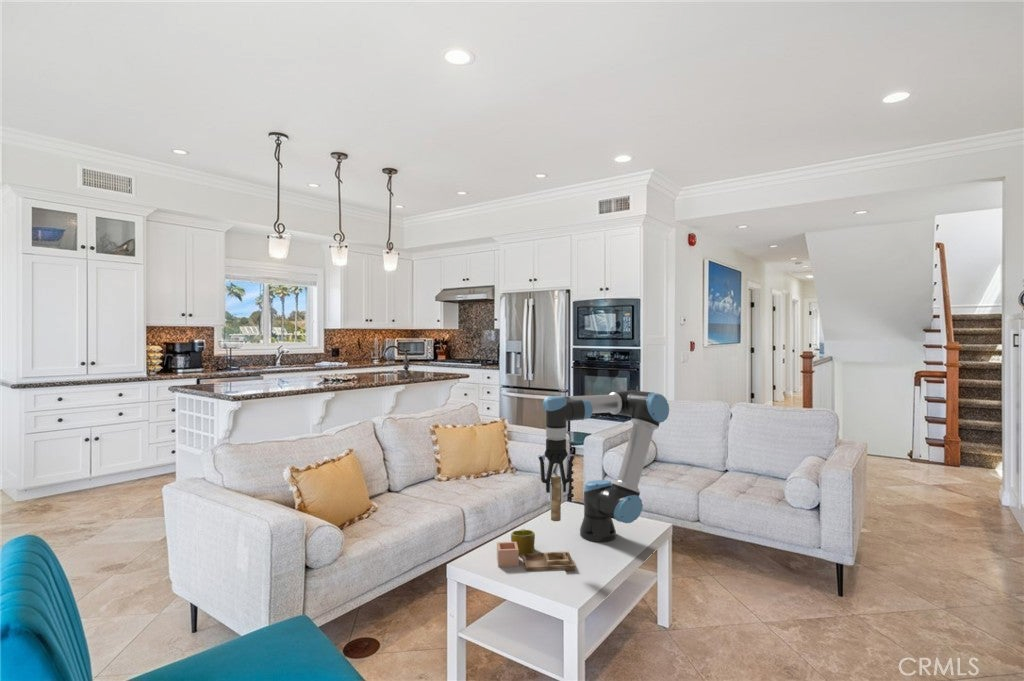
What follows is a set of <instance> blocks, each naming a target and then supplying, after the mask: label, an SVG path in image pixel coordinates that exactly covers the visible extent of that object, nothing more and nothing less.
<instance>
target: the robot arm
mask: <svg viewBox="0 0 1024 681" xmlns="http://www.w3.org/2000/svg"><path fill="white" fill-rule="evenodd" d="M542 410H543V411H544V413H545V437H546V439H545V451H544V453H543V454H539V455H537V458H538V460H539V468H540V481H541V483H543V484H545V491H546V493H547V494H548V502H549V503H551V502H552V484H551V476H553V475H552V474H553V470H554V469H553V468H554V465H555V464H558V467H559V472H560V477H561V503H563V502H564V493H566V492H567V483H570V482H571V481H572V471H573V468H572V467H573V461H574V460H575V456H574V455H573V454H569V453H568V452H567V439H566V438H567V422H572V421H581V420H582V421H584V420H587V419H590V418H591V417H592V415H593V414H602V413H603V414H606V413H610V414H611V415H620V416H625V417H626V416H627V417H631V418H630V421H631V422H632V424H633V425H632V427H631V432H630V435H629V438H628V442H627V445H626V448H625V451H624V454H623V455H624V456H623V459H622V462H621V465H620V470H619V472H618V476H617V479H616V480H614V481H611V480H607V479H598V480H597V479H594V480H590V481H587V482H585V484H584V486H583V487H584V488H583V489H584V490H583V515H584V516H583V518H582V522H581V523H580V524H581V525H580V528H579V534H580V538H581V537H582V538H583V539H585V540H587V541H591V542H598V543H599V542H600V543H602V542H609V541H613V540H615V539H616V536H617V533H616V532H617V531H616V527H615V524H614V521H613V520H616V521H617V522H618V523H619V522H621V523H624V524H631V523H633V522H634V521H636V520H637V519H638V518H639V517H640V516H641V513H642V511H643V506H644V505H643V500H642V499H641V498H640V494H641V491H640V489H639V483H640V481H641V477H642V473H643V469H644V466H645V462H646V459H647V456H648V452H649V448H650V445H651V441H652V437H653V434H654V432H655V430H657V429H659V428H660V424H661V423H663V422H665V421H667V419H668V417H669V414H670V405H669V403H668V400H667V398H666V397H665V396H664V395H663V394H660V393H657V392H653V391H652V392H650V391H642V390H634V389H633V390H623V391H612V392H610V393H609V394H595V395H593V394H592V395H570V396H569V395H568V396H561V395H559V396H558V395H548V396H546V397H545V398H543V401H542ZM545 458H546V459H547V461H548V465H547V471H546V470H545V460H546V459H545ZM566 459H567V464H566V474H565V468H564V460H566ZM545 472H546V473H545Z"/></svg>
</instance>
